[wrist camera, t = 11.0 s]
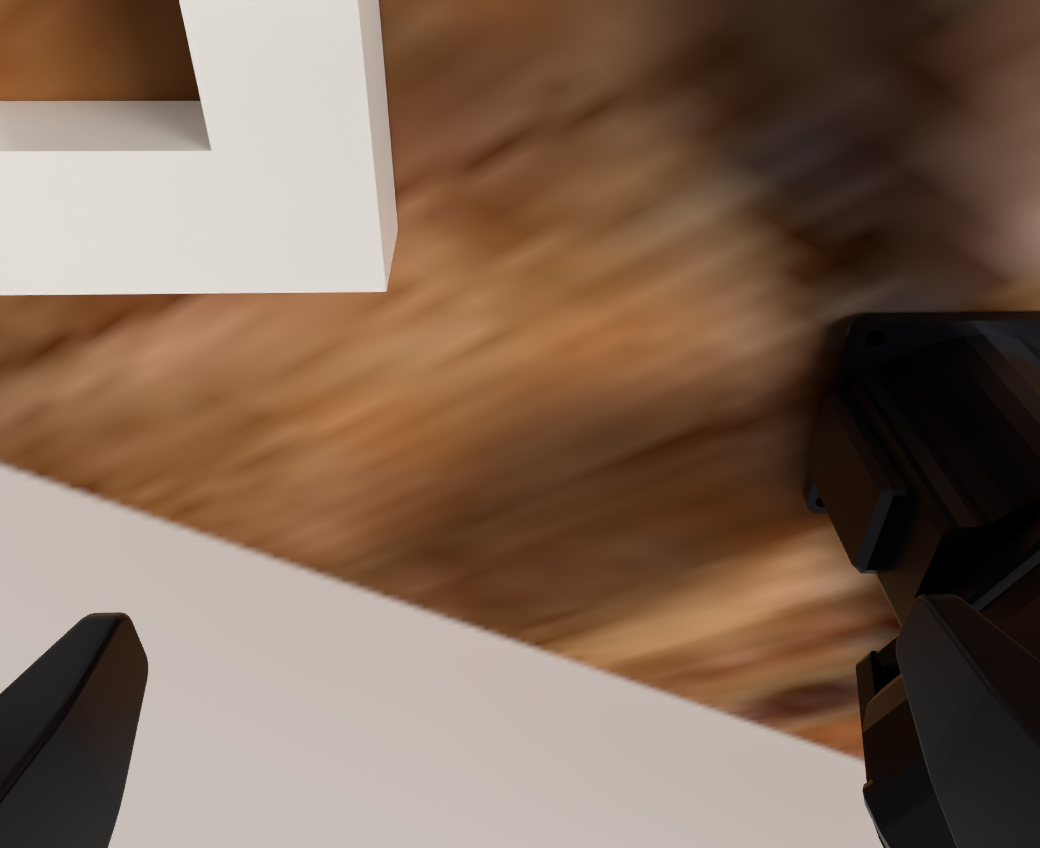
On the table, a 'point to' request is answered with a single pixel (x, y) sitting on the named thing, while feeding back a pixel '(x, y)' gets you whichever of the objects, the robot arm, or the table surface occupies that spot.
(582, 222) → the table surface
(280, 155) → the white square frame
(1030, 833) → the robot arm
